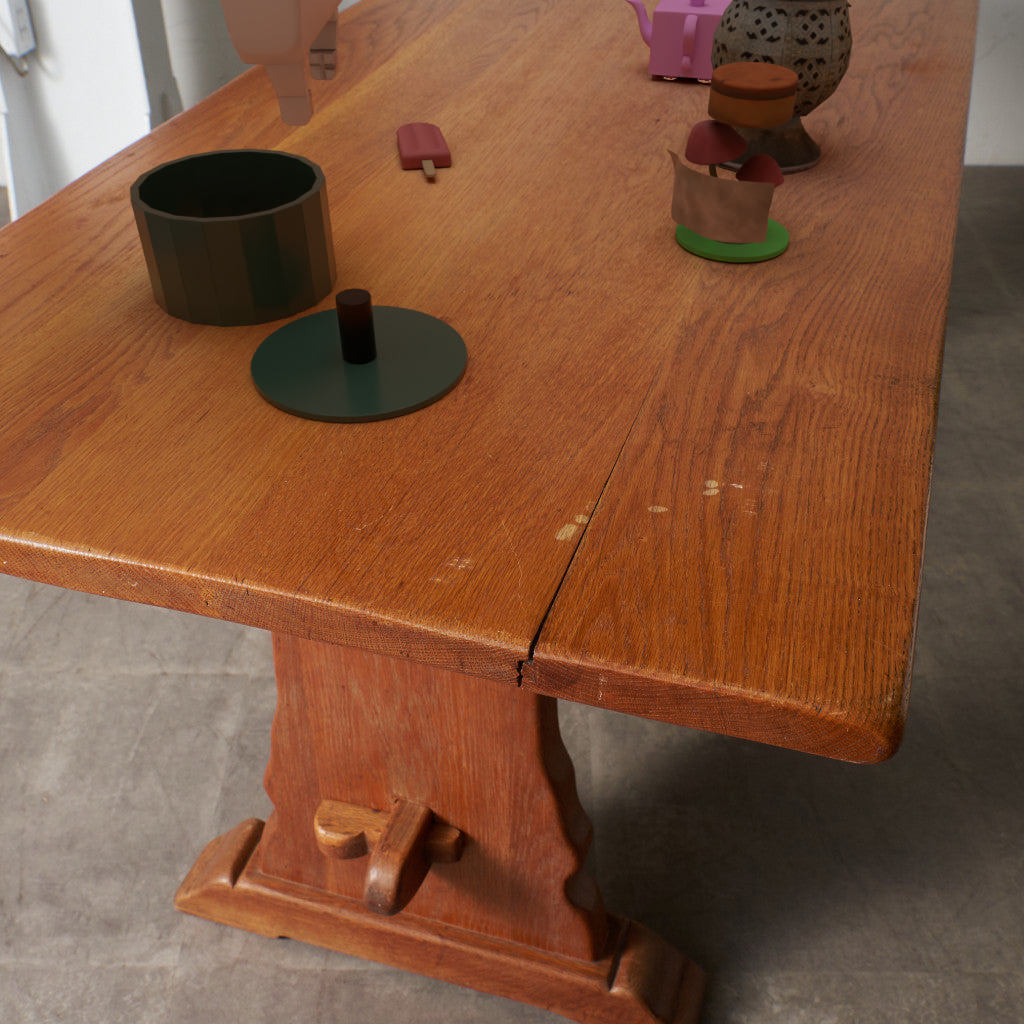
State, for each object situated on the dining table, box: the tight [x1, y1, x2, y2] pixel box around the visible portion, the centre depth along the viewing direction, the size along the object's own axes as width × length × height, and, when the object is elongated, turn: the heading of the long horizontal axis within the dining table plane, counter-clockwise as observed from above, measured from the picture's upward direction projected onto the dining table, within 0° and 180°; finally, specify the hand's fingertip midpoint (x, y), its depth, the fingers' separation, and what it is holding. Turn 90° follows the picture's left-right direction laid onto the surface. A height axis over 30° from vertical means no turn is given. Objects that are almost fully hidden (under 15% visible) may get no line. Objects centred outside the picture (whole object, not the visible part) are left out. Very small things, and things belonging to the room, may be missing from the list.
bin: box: [129, 148, 338, 328], centre depth 85 cm, size 15×16×10 cm
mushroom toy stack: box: [666, 62, 798, 263], centre depth 91 cm, size 12×13×15 cm
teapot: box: [624, 0, 732, 81], centre depth 134 cm, size 18×14×10 cm
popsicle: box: [396, 121, 452, 178], centre depth 112 cm, size 5×2×15 cm
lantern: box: [711, 0, 854, 175], centre depth 106 cm, size 14×14×25 cm
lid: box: [249, 288, 468, 424], centre depth 76 cm, size 16×16×6 cm
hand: (313, 98), depth 67 cm, fingers open, 8 cm apart
